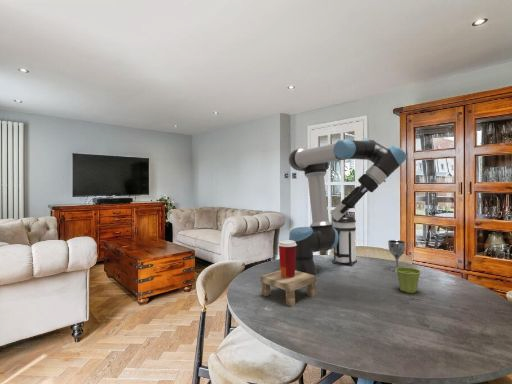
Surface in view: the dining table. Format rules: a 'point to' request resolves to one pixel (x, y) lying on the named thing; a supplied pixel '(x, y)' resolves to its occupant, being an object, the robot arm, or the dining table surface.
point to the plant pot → (408, 279)
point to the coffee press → (345, 240)
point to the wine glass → (396, 250)
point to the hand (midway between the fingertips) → (333, 216)
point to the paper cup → (287, 258)
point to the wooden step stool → (289, 284)
